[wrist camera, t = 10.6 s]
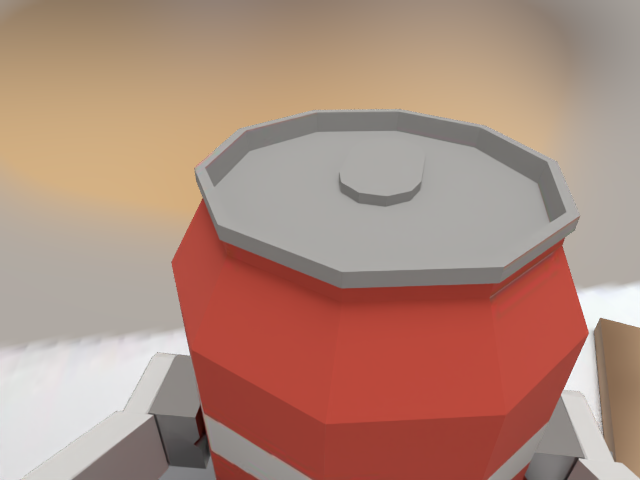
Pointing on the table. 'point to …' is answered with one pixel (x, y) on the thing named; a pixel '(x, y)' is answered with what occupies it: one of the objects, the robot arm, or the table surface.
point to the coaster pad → (620, 389)
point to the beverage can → (378, 298)
